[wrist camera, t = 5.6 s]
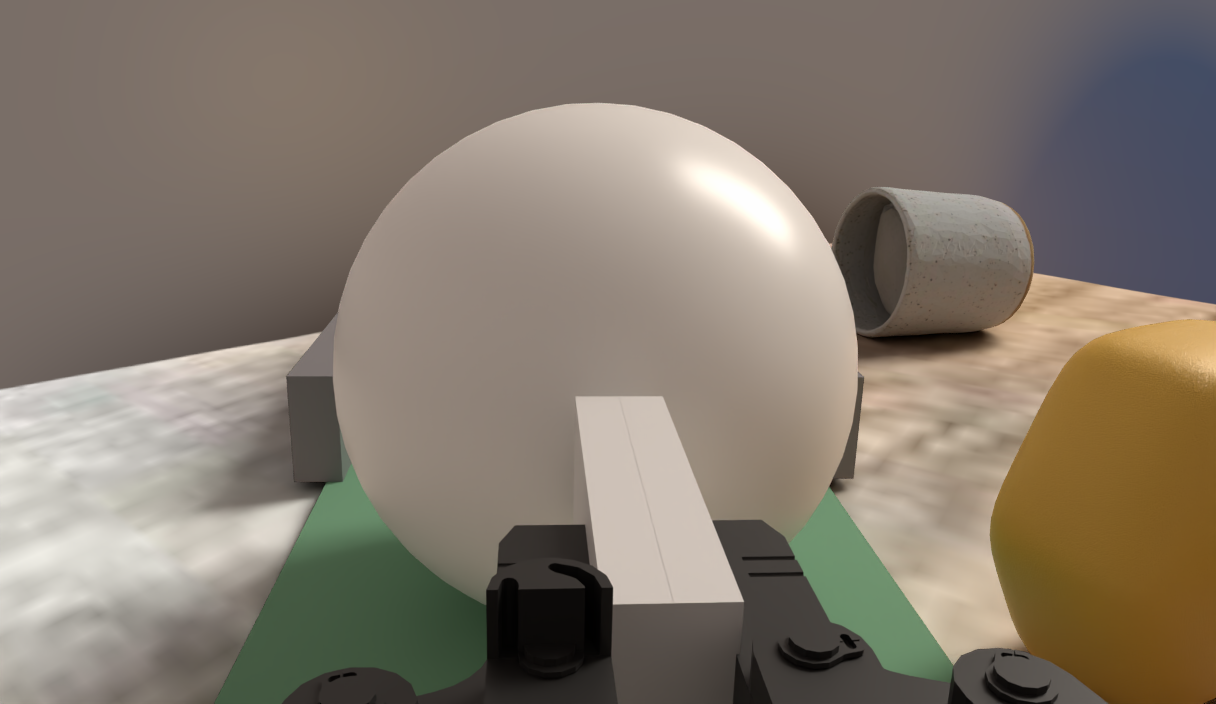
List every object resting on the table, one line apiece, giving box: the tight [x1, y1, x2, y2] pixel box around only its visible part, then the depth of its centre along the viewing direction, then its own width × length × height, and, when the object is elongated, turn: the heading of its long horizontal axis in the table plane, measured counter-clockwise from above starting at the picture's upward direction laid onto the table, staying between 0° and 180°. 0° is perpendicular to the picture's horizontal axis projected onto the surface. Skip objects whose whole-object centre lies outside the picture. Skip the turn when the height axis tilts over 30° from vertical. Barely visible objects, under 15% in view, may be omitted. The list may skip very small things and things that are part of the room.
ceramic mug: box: [831, 187, 1034, 337], centre depth 52 cm, size 11×8×8 cm
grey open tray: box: [286, 313, 864, 482], centre depth 38 cm, size 18×16×4 cm
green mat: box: [214, 463, 953, 704], centre depth 32 cm, size 16×32×1 cm, turn 4°
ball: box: [333, 103, 858, 605], centre depth 23 cm, size 12×12×12 cm
